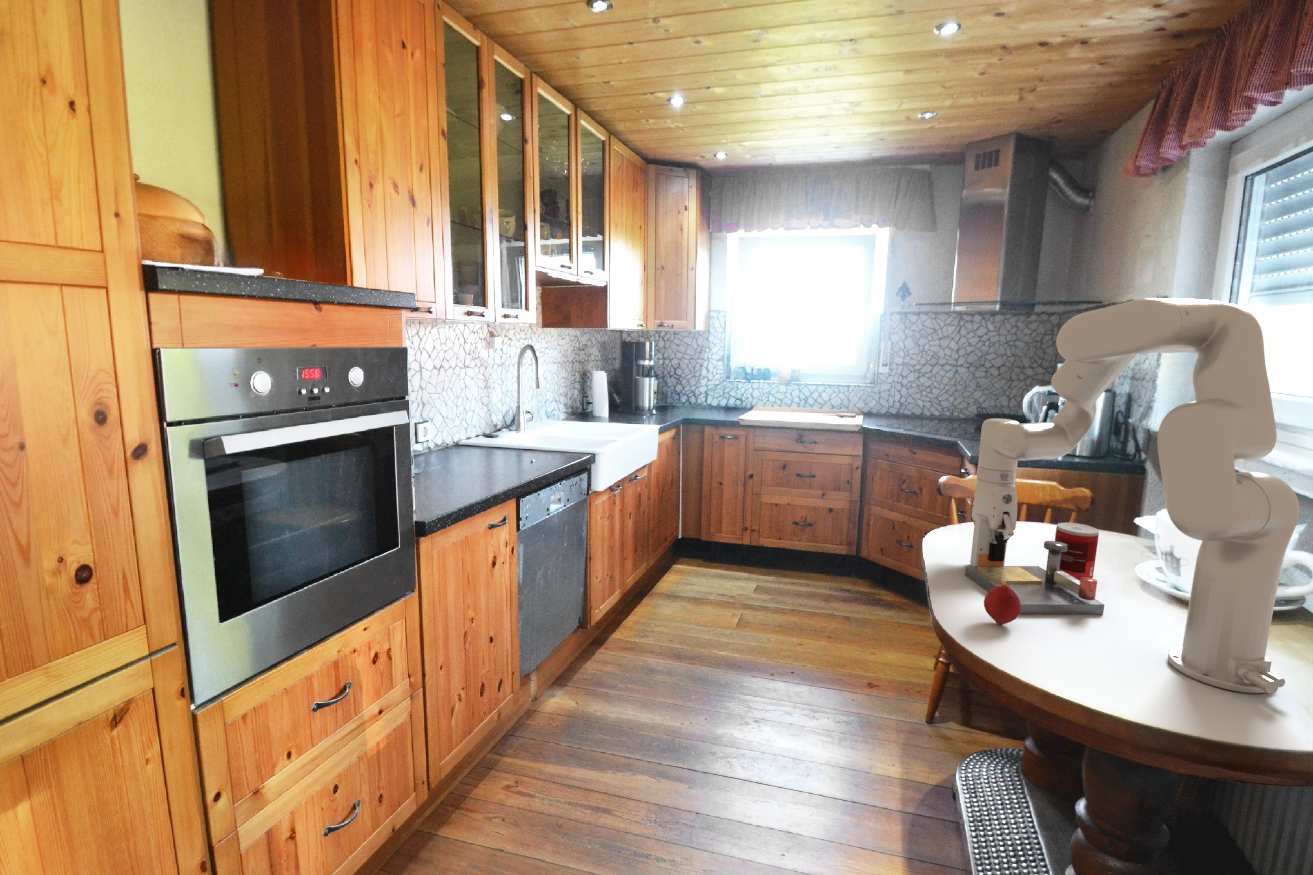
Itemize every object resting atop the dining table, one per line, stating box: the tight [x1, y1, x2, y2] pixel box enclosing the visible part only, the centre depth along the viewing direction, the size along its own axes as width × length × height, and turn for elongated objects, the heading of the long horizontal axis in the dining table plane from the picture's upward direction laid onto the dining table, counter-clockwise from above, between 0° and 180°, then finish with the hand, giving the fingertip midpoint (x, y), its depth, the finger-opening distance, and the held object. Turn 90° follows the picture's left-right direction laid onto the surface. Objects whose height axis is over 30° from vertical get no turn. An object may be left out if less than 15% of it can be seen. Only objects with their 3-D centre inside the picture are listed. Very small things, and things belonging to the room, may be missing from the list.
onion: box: [983, 581, 1021, 626], centre depth 117 cm, size 6×6×8 cm
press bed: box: [964, 540, 1105, 616], centre depth 131 cm, size 20×16×10 cm
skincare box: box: [969, 513, 1008, 566], centre depth 144 cm, size 6×4×12 cm
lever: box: [1054, 571, 1098, 600], centre depth 126 cm, size 10×3×4 cm, turn 2°
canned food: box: [1054, 522, 1100, 580], centre depth 140 cm, size 8×8×11 cm
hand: (988, 555), depth 145 cm, fingers closed on skincare box, 5 cm apart
